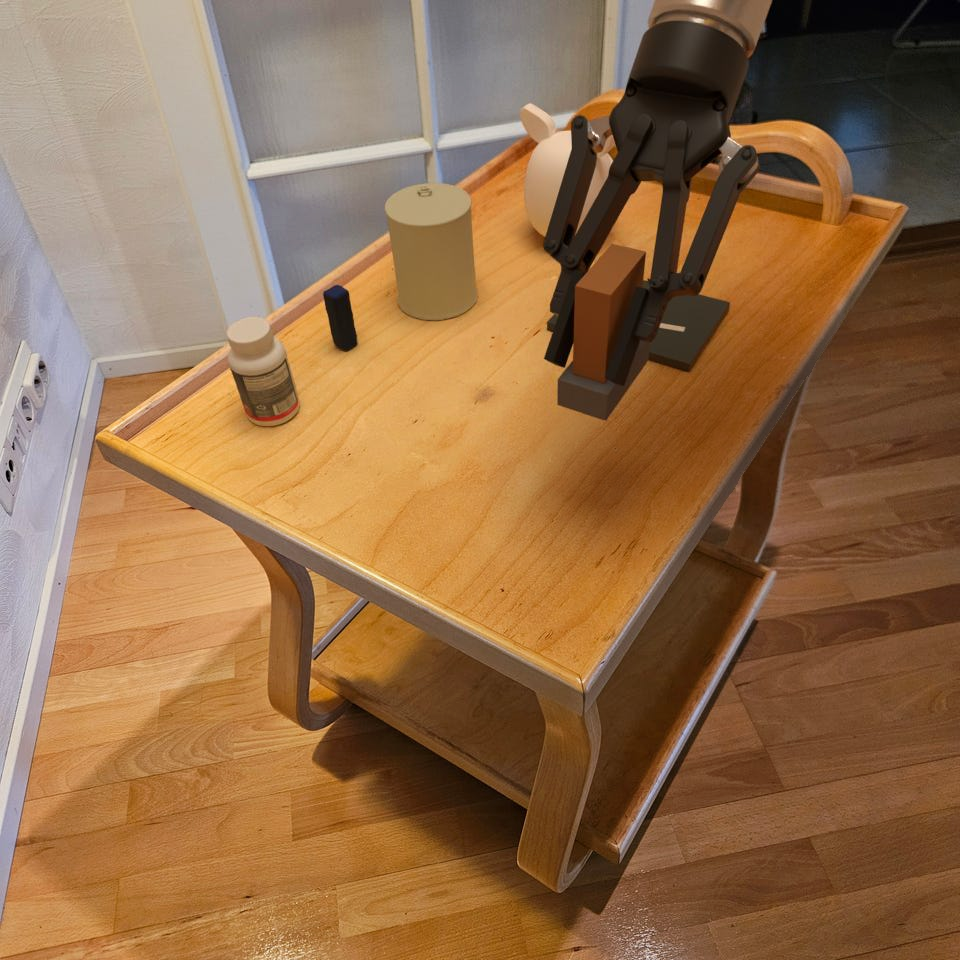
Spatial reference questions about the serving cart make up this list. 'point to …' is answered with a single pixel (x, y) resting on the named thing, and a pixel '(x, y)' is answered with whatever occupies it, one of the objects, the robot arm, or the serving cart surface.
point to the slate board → (682, 329)
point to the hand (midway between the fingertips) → (584, 371)
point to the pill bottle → (261, 372)
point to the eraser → (340, 317)
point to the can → (432, 250)
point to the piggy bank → (554, 168)
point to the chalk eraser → (602, 333)
